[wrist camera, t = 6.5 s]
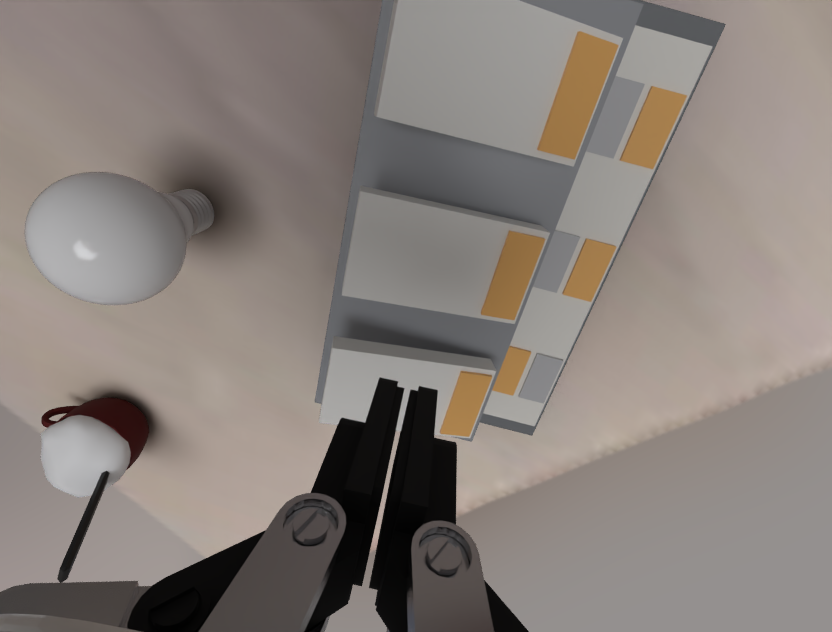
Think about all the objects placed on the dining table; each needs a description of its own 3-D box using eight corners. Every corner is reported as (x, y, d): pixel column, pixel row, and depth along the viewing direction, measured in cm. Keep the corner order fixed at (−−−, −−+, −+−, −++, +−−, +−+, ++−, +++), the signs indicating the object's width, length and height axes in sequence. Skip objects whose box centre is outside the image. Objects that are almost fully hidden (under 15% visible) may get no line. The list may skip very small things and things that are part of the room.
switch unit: (401, -56, 21) (386, -101, 17) (709, 29, 22) (775, 7, 17) (326, 370, 33) (305, 412, 28) (529, 422, 33) (540, 471, 28)
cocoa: (69, 399, 37) (-103, 516, 26) (104, 362, 34) (-69, 474, 24) (156, 471, 39) (30, 606, 28) (195, 441, 37) (73, 576, 26)
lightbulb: (166, 136, 26) (-11, 150, 16) (261, 191, 27) (148, 236, 17) (141, 224, 29) (-25, 282, 19) (228, 271, 30) (113, 351, 20)
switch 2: (360, 185, 19) (360, 192, 18) (540, 225, 21) (551, 233, 20) (342, 285, 22) (341, 297, 20) (507, 313, 23) (515, 326, 22)
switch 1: (400, -34, 16) (406, -43, 14) (606, 40, 18) (626, 37, 17) (373, 114, 18) (377, 117, 17) (560, 162, 20) (576, 167, 19)
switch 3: (333, 335, 23) (332, 350, 22) (490, 358, 25) (497, 373, 23) (320, 408, 25) (318, 425, 24) (465, 424, 27) (470, 440, 26)
